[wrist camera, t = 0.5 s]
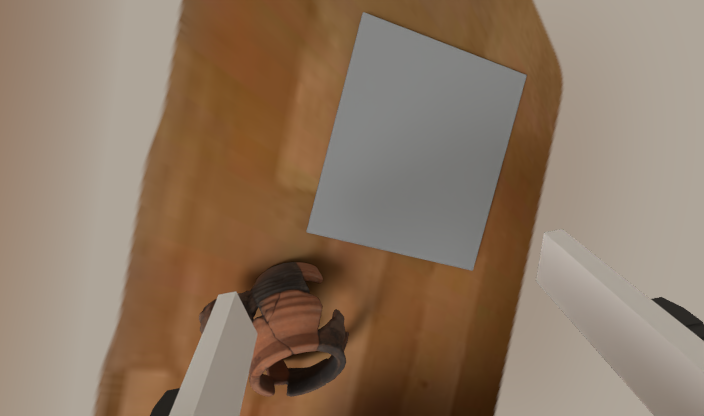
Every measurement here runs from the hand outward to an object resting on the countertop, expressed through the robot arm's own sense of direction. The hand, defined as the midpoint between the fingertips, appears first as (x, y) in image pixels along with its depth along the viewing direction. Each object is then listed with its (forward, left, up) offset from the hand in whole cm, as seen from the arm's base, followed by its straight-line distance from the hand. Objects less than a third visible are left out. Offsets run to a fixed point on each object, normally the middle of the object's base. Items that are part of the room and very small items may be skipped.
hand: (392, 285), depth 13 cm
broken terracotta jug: (-8, +4, -16) cm, 18 cm away
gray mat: (+9, -5, -15) cm, 19 cm away
